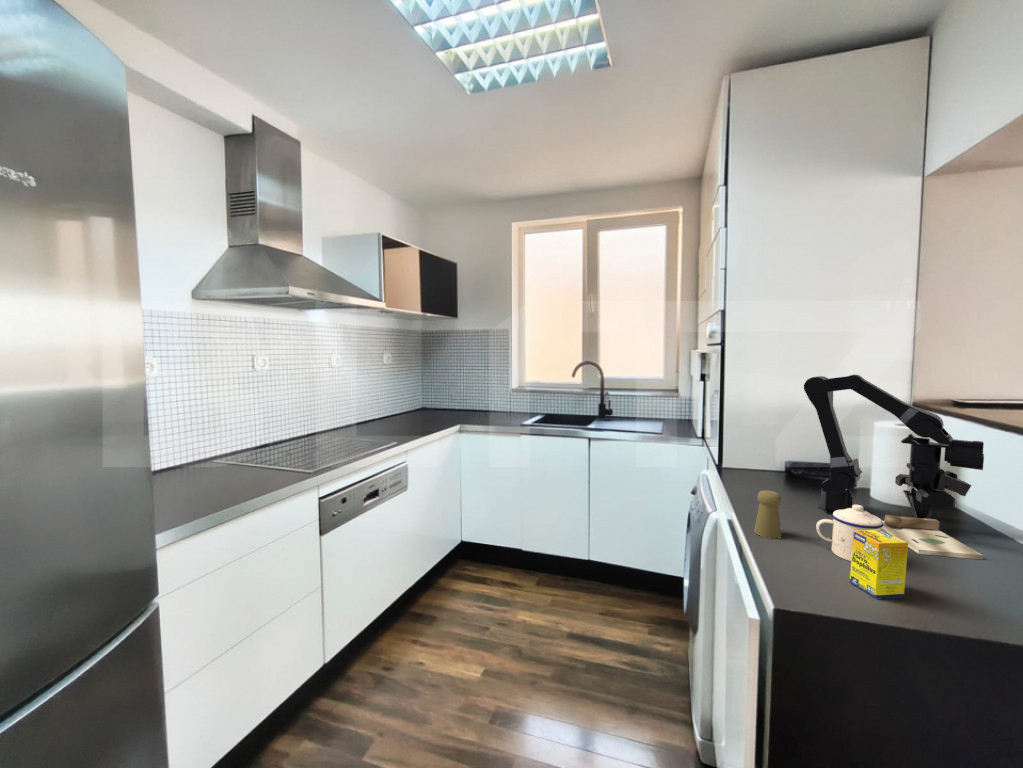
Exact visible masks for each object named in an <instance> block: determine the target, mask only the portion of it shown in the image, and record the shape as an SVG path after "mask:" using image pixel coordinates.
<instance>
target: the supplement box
mask: <svg viewBox="0 0 1023 768" xmlns="http://www.w3.org/2000/svg"><path fill="white" fill-rule="evenodd" d="M908 550H909V547H908V543H907V542H905V541H902V540H900V539H898V538H896V537H894V536H892V535H890V534H889V533H888V532H886V531H884V530H882V531H881V530H858V531H853V542H852V557H851V561H850V574H849V583H850V584H852V585H854V586H855V587H857V588H858V589H860V590H862V591H863V592H865V594H868V595H870V596H871V597H872V598H874V599H876V600H882V598H886V599H899V598H900V599H901V598H904V597H905V587H906V576H907V563H908V562H907V561H908Z"/></svg>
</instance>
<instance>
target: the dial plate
mask: <svg viewBox="0 0 1023 768" xmlns="http://www.w3.org/2000/svg"><path fill="white" fill-rule="evenodd" d="M882 522H883V527H882V531H884V532H885V533H887V534H889V535H891V536H894V537H896V538H898V539H900V540H902V541H905V542H907V543H908V549H911V550H912V551H913V552H915V553H916V554H918V555H928V556H929V555H930V556H940V557H949V558H961V559H970V560H971V559H975V560H983V559H984V555H983V554H981V553H980V552H978V551H977V550H974V549H973V548H971V547H969V546H968V545H966V544H964V543H963V542H961V541H959V540H957V539H956V538H954V537H952V536H950V535H948V534H947V533H945V532H943V531H941V530H940V529H939V530H936V529H924V528H911V527H891V526H888V525H885V520H882Z"/></svg>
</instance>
